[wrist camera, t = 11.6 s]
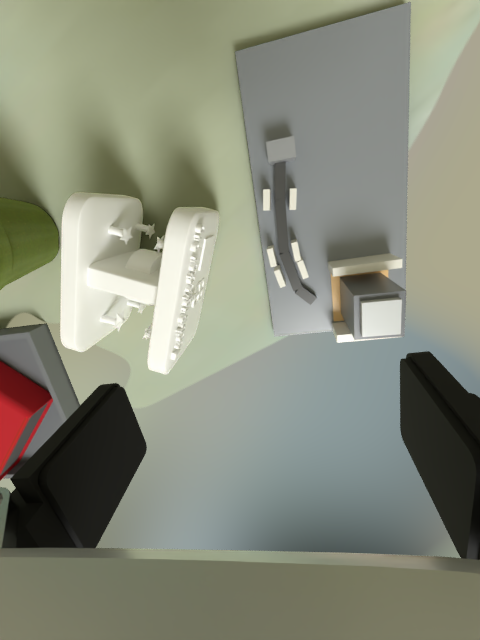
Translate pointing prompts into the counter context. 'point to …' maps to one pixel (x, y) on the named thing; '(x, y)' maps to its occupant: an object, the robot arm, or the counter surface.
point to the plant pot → (24, 239)
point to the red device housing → (18, 415)
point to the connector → (372, 306)
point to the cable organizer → (133, 273)
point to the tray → (39, 378)
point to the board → (329, 162)
